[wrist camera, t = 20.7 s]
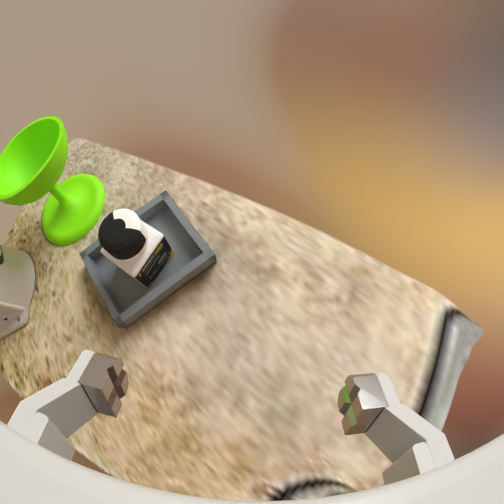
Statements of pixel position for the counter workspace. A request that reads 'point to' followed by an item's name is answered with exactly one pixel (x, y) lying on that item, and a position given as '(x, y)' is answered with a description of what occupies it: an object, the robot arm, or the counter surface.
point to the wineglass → (50, 181)
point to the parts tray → (170, 278)
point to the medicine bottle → (134, 246)
